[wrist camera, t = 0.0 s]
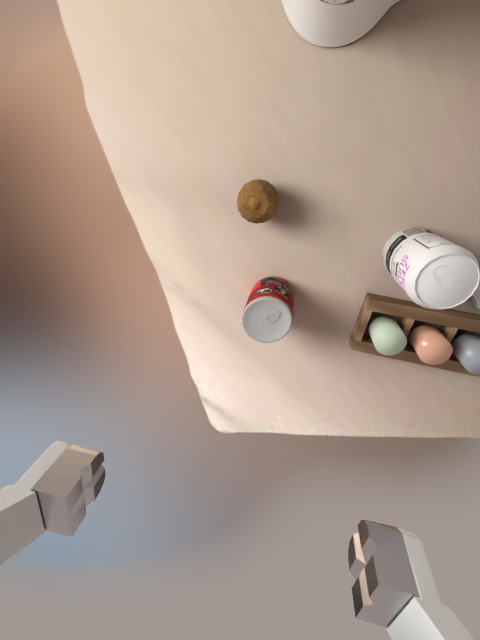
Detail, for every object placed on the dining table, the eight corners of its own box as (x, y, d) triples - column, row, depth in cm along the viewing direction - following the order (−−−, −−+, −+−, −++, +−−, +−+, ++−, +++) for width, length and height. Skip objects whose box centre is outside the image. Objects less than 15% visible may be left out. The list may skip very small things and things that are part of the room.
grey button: (458, 330, 52) (473, 345, 48) (488, 336, 52) (505, 352, 48) (445, 354, 55) (458, 370, 50) (474, 360, 54) (489, 377, 50)
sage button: (373, 313, 54) (380, 326, 49) (402, 319, 53) (411, 332, 49) (364, 337, 56) (370, 352, 51) (392, 343, 55) (400, 358, 51)
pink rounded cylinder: (415, 321, 53) (426, 335, 49) (445, 327, 53) (458, 342, 48) (404, 345, 55) (413, 361, 51) (432, 351, 55) (444, 367, 50)
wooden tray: (366, 292, 55) (370, 299, 52) (499, 318, 53) (509, 326, 50) (349, 341, 59) (351, 349, 57) (470, 366, 57) (478, 376, 55)
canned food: (302, 290, 56) (302, 316, 47) (276, 322, 60) (272, 352, 50) (267, 266, 56) (260, 287, 46) (243, 300, 59) (232, 326, 50)
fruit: (242, 177, 50) (233, 178, 43) (282, 179, 49) (278, 181, 42) (241, 217, 53) (231, 225, 46) (278, 220, 52) (274, 229, 45)
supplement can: (445, 258, 50) (497, 291, 37) (395, 285, 53) (426, 324, 40) (422, 215, 48) (469, 233, 35) (371, 246, 51) (396, 274, 38)
